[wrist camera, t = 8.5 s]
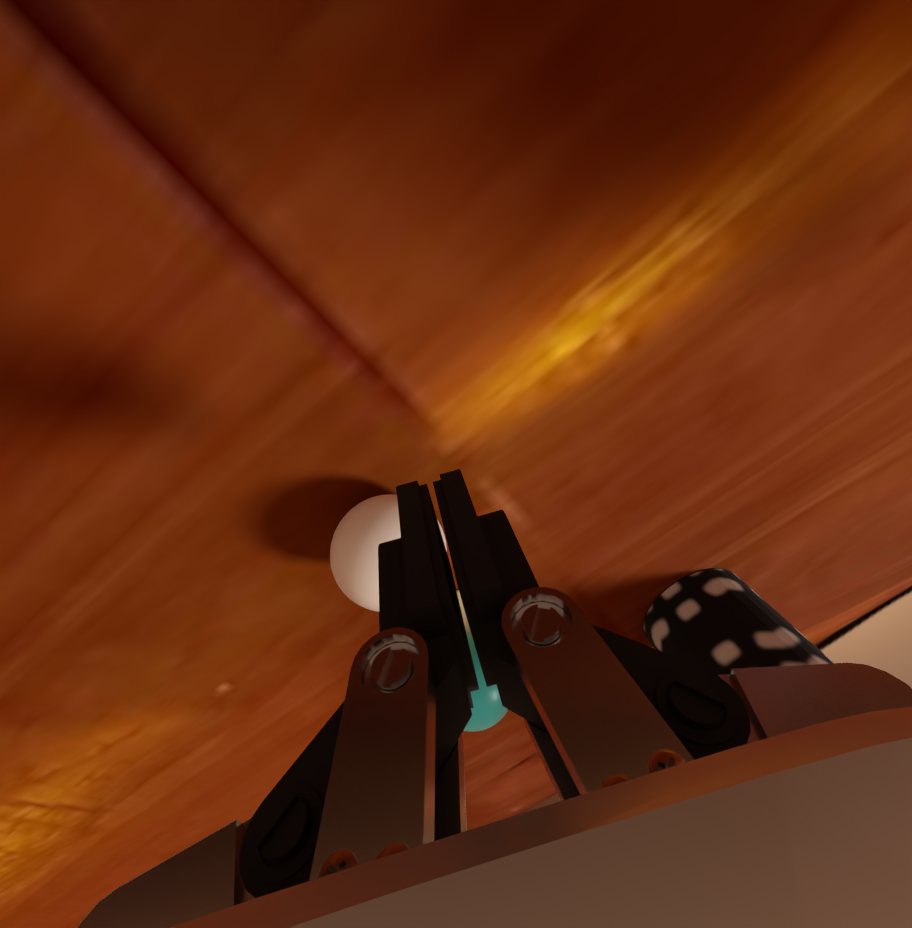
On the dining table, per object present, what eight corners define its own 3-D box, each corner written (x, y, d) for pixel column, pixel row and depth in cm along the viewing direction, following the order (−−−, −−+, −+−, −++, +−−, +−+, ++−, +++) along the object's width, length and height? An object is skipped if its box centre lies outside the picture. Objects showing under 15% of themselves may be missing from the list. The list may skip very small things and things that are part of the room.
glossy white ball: (436, 646, 18) (451, 564, 23) (438, 547, 16) (455, 479, 21) (317, 631, 19) (356, 554, 24) (301, 533, 16) (349, 469, 21)
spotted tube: (624, 621, 31) (946, 1084, 14) (714, 551, 30) (1206, 985, 12) (672, 656, 35) (971, 1051, 18) (754, 595, 33) (1171, 972, 16)
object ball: (536, 734, 24) (514, 684, 29) (509, 643, 24) (493, 610, 29) (444, 767, 23) (440, 710, 29) (417, 674, 23) (418, 635, 29)
